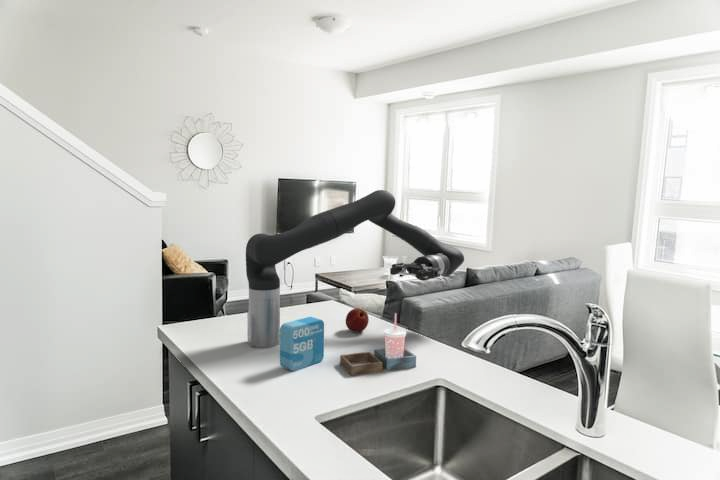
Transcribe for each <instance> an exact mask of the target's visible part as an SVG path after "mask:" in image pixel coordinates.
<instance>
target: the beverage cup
mask: <svg viewBox="0 0 720 480" xmlns="http://www.w3.org/2000/svg"><path fill="white" fill-rule="evenodd" d="M383 335H384V345H385V346H384V348H385V355H386V357H387V358H388V359H391V358H398V357H403V352H404V348H405V340H406V336H407V331H406V330H405V329H403V328H397V312H394V327H390V328H389V327H388V328H386V329H384V331H383Z"/></svg>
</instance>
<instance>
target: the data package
mask: <svg viewBox="0 0 720 480" xmlns="http://www.w3.org/2000/svg"><path fill="white" fill-rule="evenodd" d="M324 353H325V322H324V320H322V319H319V318H316V317H312V316H308V317H304V318H299V319H296V320H291V321H288V322H287V321H286V322H284V323H283V324H280V343H279V365H280V366H281V367H282V368H284V369H286V370H289V371H292V372H296V371H299V370H301V369H305V368H307V367H310V366H313V365H316V364H319V363H321V362H322V361H323V359H324V356H325V354H324Z"/></svg>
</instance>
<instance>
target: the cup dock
mask: <svg viewBox="0 0 720 480" xmlns="http://www.w3.org/2000/svg"><path fill="white" fill-rule="evenodd" d="M339 356H340V357H339V358H340V359H339V361H340V362H339V364H340V366H341V367H342V368H343V369H344V370H345V371H346V372H347V373H348V374H349V375H350V376H351V377H352V376H360V375H366V374H367V375H368V374H373V373H381V372H383V369H384V370H385V371H387V372H389V371H395V370H402V369H410V368H416V367H417V355H415V354H414V353H412V352H411V351H410V350H408V349H407V348H405V347H404V352H403V357H398V358H391V359H388V358H387V357H386V355H385V347H384V348H383V347H382V348H375V349H373V353H372V352H370V351H364V352H357V353H356V352H354V353H348V354H341V355H339ZM366 362H367V363H366ZM357 363H358V364H357Z"/></svg>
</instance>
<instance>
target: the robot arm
mask: <svg viewBox="0 0 720 480" xmlns="http://www.w3.org/2000/svg"><path fill="white" fill-rule="evenodd" d="M395 206H396V198H395V196H394V195H393V194H392V193H391V192H390V191H387V190H383V189H380V190H379V189H378V190H375V191H373V192H371V193H369V194H367V195H365V196H363V197H360V198H359V199H358V200H355V201H352V202H349V203H345V204H342V205H339V206H337V207H334V208H331V209H328V210H325V211H322V212H319V213H317V214H315V215H312V216H310V217H308V218H307V219H306V220H304V221H303V222H301V223H300V224H299V225H297V226H296V227H294V228H292V229H290V230H287V231H286V230H285V231H284V232H279V233H276V234H271V235H270V234H266V233H257V234H256V233H255V234H254V235H252V236H251V237H250V238H249V239H248V241H247V243H246V247H245V268H246V269H245V270H246V279H247V283H248V310H247V342H249V343H248V345H249V346H250V347H251V346H256V347H255V348H270V347H275V346H277V345H280V327H281V323H280V322H281V313H280V312H281V309H280V307H281V298H280V297H281V295H280V294H281V280H280V277H279V275H278V273H277V269H276V265H277V264H279V263H281V262H283V261H285V260H287V259H288V258H290V257H292V256H294V255H296V254H298V253H300V252H303V251H305V250H308V249H311V248H315V247H317V246H319V245H322V244H324V243H327V242H330V241H332V240H335V239H337V238H339V237H341V236H343V235H344V234H346V233H348V232H350V231H351V230H353V229H354V228H356V227H357V226H359V225H360V224H362V223H364V222H366V221H369V222H370V223H373V224H374V225H376V226H378V227H380V228H381V229H383V230H385V231H387V232H388V233H390V234H392V235H394V236H396V237H398V238H399V239H401V240H402V241H404V242H405V243H407V244H408V245H409V246H411V247H412V248H413V249H415V250H416V251H417V252H418V253H420V254H422V255H421V256H420V257H417V258H415V260H414V261H413V262H411V263H404V262H399V263H393V264H391V267H390V271H389V273H390V275H391V276H396V275H403V276H412V277H415V278H416V279H417V280H419V281H421V282H422V281H429V280H432V279H433V280H434V279H436V278H439V277H443V278H448V277H450V276H451V275H452V274H453V273H454V272H455V271H457V269H459V267H460V266H461V265H463V263H464V262H465V257H464V253H462V252H461V250H460V249H458V248H456V247H454V246H452V245H449V244H446V243H444V242H442V241H440V240H438V239H437V238H435V237H434V236H432V234H430V233H429V232H428V231H426V230H425V229H423V228H421V227H419V226H417V225H414V224H411V223H409V222H406V221H403V220H401V219H400V218H398V217H396V216H395V215H394V214H393V213H392V212H393V211H394V209H395Z"/></svg>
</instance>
